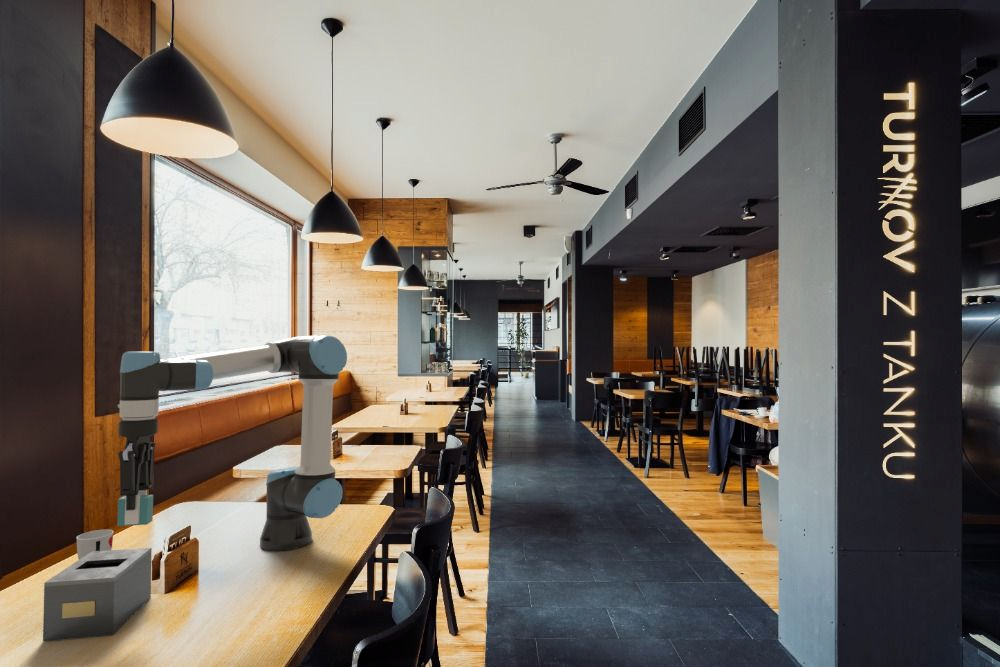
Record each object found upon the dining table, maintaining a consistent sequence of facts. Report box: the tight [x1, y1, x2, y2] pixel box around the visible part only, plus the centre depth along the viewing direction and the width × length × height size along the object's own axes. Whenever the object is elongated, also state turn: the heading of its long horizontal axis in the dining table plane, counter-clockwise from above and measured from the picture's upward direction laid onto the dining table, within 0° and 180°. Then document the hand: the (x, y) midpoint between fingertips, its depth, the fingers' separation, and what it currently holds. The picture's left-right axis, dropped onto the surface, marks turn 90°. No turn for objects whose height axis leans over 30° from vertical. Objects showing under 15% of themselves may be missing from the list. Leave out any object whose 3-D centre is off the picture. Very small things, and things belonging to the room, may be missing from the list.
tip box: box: [42, 547, 152, 642], centre depth 123 cm, size 13×18×12 cm
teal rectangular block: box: [116, 494, 154, 527], centre depth 125 cm, size 6×3×6 cm, turn 102°
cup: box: [76, 529, 114, 560], centre depth 149 cm, size 8×8×10 cm
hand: (135, 521), depth 125 cm, fingers closed on teal rectangular block, 3 cm apart
